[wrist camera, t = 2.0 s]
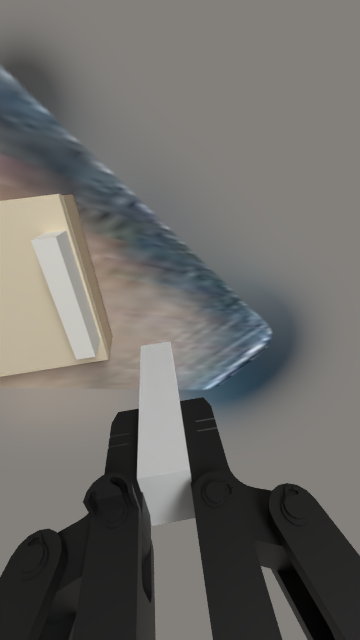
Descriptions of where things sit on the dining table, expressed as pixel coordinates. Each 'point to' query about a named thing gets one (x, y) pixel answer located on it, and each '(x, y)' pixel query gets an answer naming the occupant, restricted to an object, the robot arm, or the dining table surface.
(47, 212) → the lid
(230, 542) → the robot arm
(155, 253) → the dining table surface
